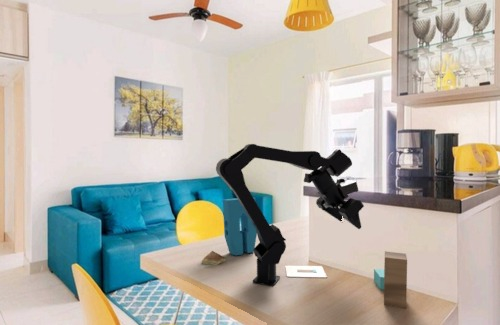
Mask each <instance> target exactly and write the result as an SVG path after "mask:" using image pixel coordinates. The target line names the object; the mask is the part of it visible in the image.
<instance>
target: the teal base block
mask: <svg viewBox="0 0 500 325" xmlns="http://www.w3.org/2000/svg"><path fill="white" fill-rule="evenodd" d="M373 281H374V283H375V284H376V286H377V287H378V289H379V290H380V291H381V290H382V291H384V268H380V269H379V268H373Z"/></svg>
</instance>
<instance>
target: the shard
mask: <svg viewBox="0 0 500 325" xmlns="http://www.w3.org/2000/svg"><path fill="white" fill-rule="evenodd" d="M226 261H227V258H226V257H224V256H223V255H221V254H219V253H217V252H215V251H213V250H212V251H210V252H209V253H208V254H207V255H206V256H205V257H204V258H203V259H202V260H201V264H202V265H203V264H206V265H215V266H216V265H217V266H218V265H220V264H221V263H224V262H226Z"/></svg>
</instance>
